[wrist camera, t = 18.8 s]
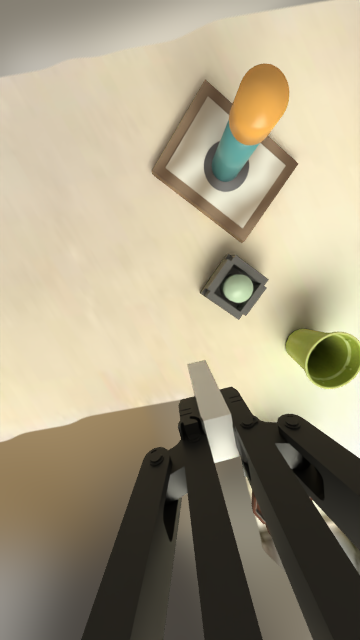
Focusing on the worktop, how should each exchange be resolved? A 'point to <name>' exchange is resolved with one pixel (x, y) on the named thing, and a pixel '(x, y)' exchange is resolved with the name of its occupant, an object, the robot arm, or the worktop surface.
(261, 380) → the worktop surface
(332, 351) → the plant pot
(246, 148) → the orange-topped post
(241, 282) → the button
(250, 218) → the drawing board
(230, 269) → the button housing
